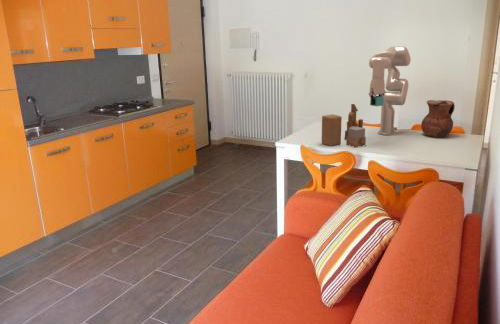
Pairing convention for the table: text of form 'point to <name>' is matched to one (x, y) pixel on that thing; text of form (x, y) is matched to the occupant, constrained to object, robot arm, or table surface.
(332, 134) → the wooden block
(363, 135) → the tower mid
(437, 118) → the jug
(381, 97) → the teal cube
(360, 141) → the tower base
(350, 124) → the wooden toy
